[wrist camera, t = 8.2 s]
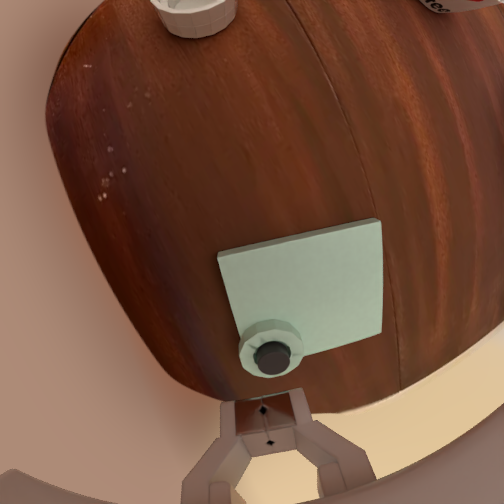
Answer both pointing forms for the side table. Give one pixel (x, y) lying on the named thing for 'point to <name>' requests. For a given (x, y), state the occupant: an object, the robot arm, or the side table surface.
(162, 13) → the bowl
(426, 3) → the cup
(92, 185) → the side table surface
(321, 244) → the scale
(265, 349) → the tare button
